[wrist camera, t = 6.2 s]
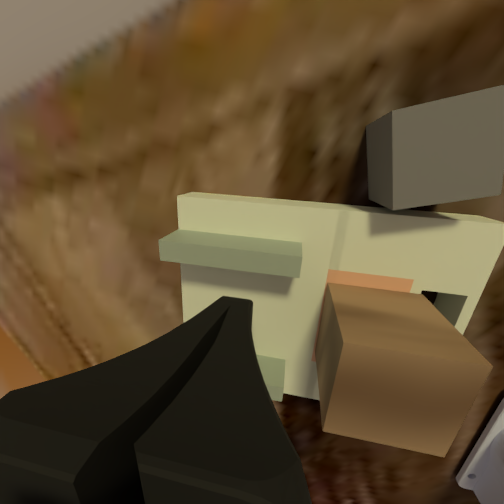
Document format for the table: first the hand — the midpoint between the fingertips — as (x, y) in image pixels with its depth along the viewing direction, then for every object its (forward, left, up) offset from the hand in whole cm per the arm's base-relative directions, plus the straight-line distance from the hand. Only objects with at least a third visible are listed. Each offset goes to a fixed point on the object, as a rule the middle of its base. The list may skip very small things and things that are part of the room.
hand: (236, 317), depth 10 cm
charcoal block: (+7, -7, -5) cm, 11 cm away
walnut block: (-1, -6, -3) cm, 7 cm away
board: (-2, -3, -5) cm, 6 cm away
